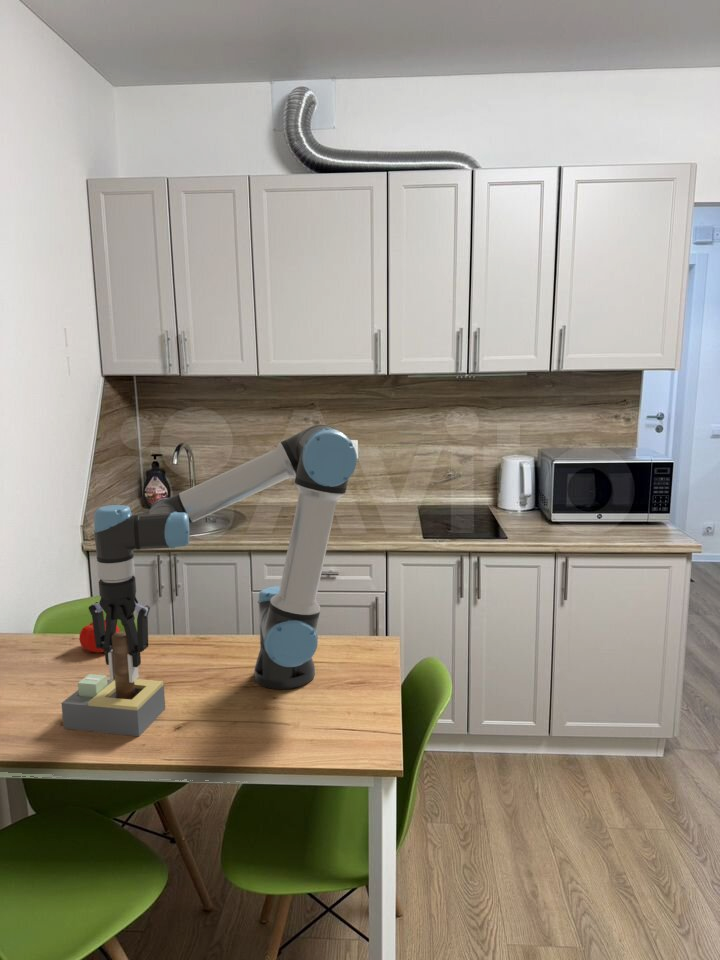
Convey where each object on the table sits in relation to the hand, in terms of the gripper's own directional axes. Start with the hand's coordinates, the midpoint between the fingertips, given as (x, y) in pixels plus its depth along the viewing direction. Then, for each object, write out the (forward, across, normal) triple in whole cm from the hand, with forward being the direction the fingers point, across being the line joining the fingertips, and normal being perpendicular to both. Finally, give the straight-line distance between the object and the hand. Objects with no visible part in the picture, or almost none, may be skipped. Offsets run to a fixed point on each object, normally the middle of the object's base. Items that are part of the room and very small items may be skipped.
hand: (124, 678), depth 157 cm
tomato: (+10, +27, -34) cm, 45 cm away
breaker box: (+10, +3, 0) cm, 10 cm away
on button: (+5, +8, 0) cm, 9 cm away
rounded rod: (+6, 0, 0) cm, 6 cm away
